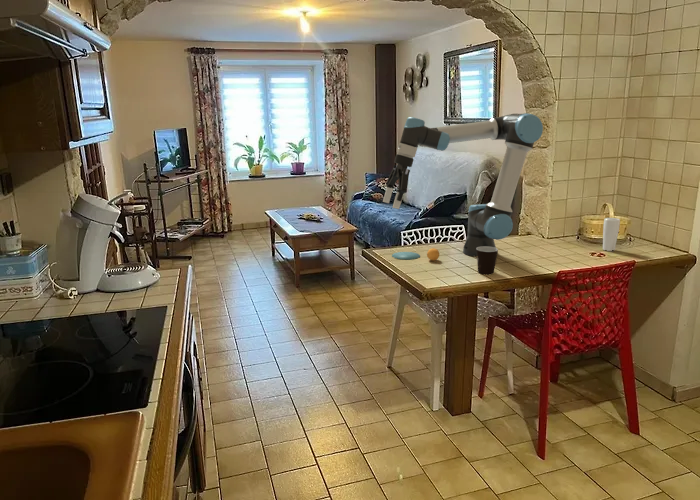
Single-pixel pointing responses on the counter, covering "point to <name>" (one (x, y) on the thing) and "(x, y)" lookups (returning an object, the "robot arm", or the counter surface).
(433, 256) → the ball
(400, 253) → the disc
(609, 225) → the white tall block
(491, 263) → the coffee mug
